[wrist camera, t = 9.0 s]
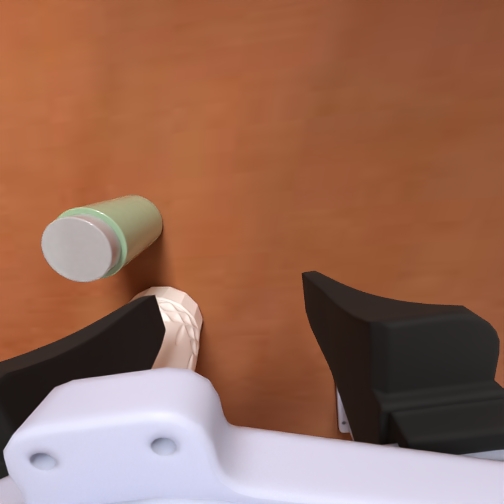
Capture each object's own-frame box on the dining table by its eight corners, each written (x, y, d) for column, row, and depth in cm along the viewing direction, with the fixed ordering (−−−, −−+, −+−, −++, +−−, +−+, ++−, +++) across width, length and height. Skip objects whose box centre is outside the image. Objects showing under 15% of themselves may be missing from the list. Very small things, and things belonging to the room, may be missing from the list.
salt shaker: (168, 242, 21) (127, 281, 14) (118, 250, 21) (53, 292, 14) (154, 190, 20) (101, 205, 13) (102, 199, 20) (20, 217, 13)
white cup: (179, 367, 25) (137, 490, 16) (106, 325, 23) (9, 434, 14) (226, 311, 23) (211, 412, 14) (150, 261, 21) (73, 337, 12)
